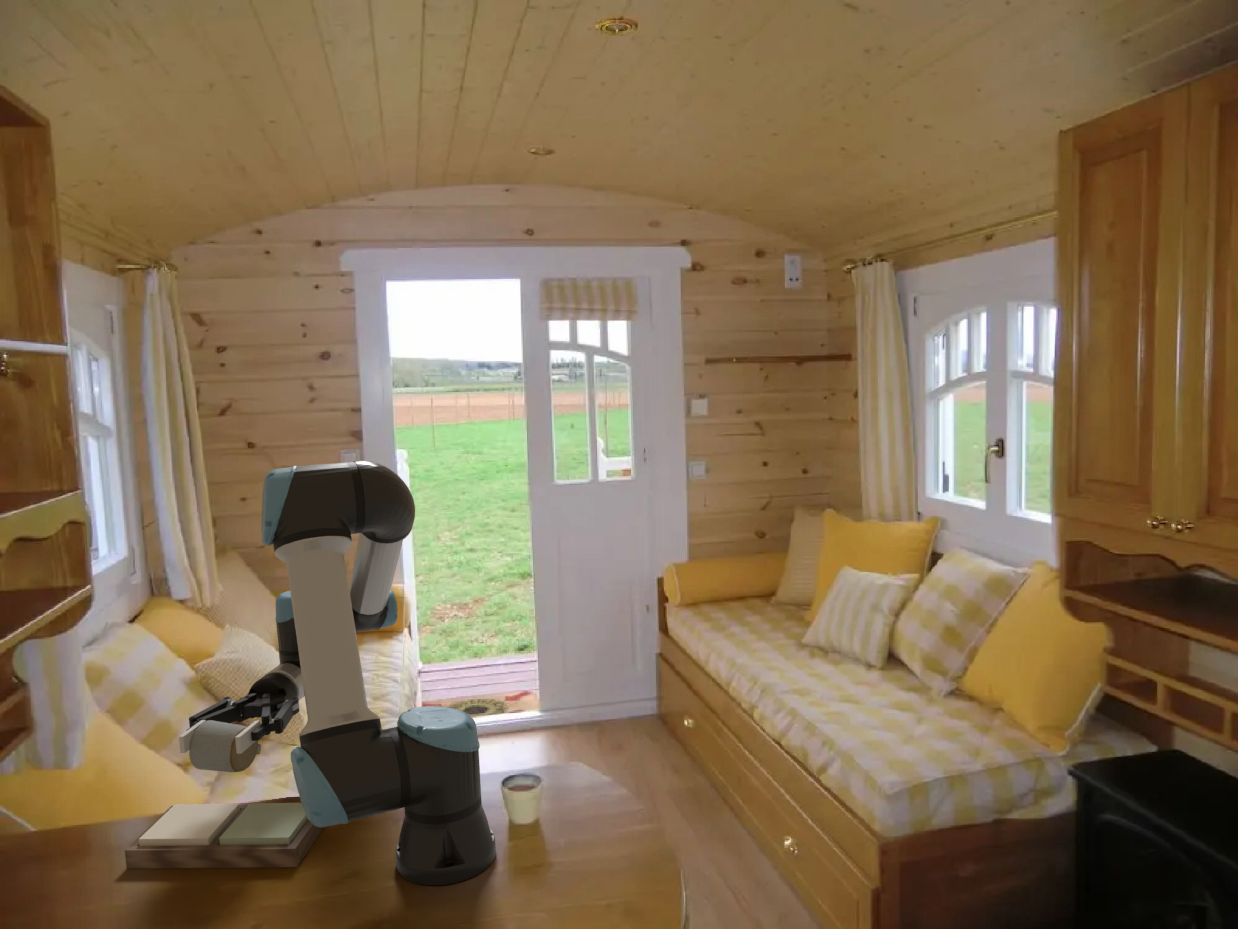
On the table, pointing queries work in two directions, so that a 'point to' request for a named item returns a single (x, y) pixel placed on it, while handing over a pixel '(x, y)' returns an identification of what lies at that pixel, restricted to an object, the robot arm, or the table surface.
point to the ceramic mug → (220, 748)
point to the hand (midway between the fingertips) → (210, 745)
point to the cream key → (190, 825)
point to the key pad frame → (222, 852)
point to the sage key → (266, 825)
